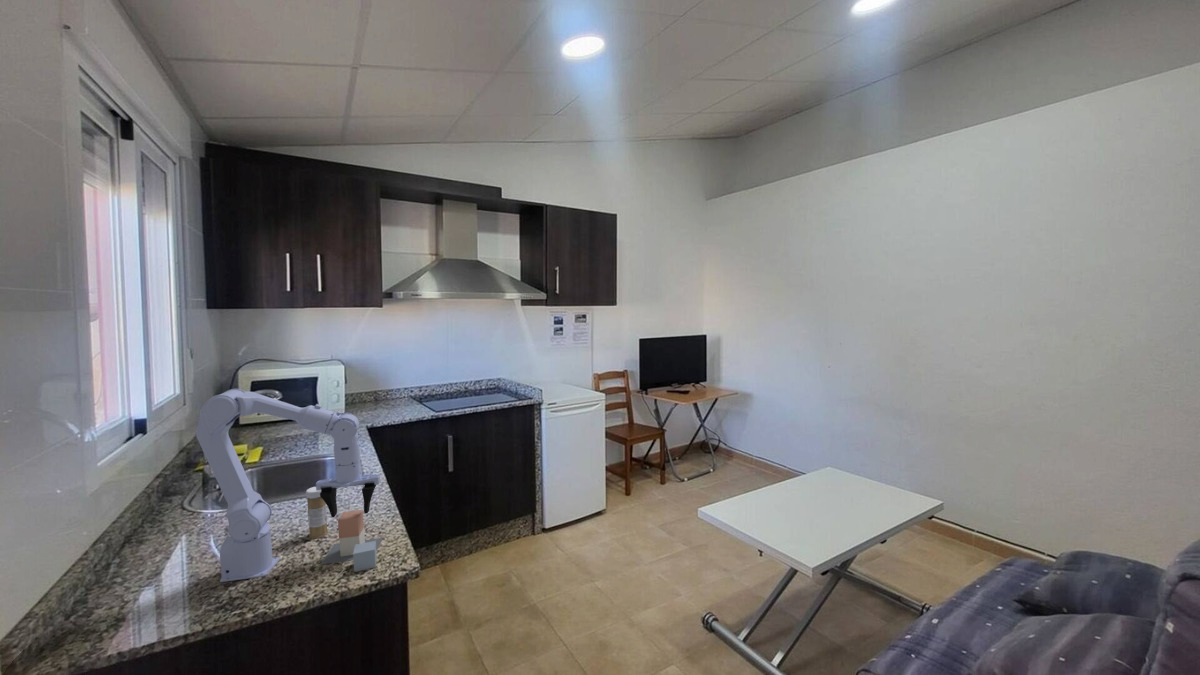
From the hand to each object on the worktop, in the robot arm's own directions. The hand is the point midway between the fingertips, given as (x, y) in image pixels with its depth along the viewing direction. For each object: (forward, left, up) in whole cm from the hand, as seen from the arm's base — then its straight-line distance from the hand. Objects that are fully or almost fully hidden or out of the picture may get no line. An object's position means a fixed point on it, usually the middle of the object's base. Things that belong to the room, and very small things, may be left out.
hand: (350, 513), depth 119 cm
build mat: (0, 0, -10) cm, 10 cm away
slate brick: (+5, -8, -10) cm, 14 cm away
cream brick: (0, 0, -10) cm, 10 cm away
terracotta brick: (0, 0, -5) cm, 5 cm away
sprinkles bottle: (-12, +12, -10) cm, 20 cm away
